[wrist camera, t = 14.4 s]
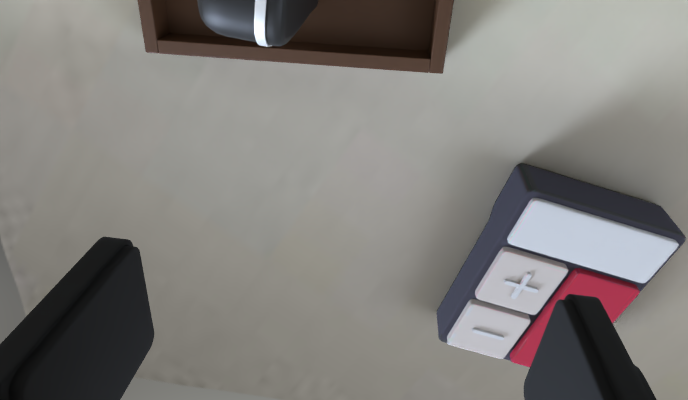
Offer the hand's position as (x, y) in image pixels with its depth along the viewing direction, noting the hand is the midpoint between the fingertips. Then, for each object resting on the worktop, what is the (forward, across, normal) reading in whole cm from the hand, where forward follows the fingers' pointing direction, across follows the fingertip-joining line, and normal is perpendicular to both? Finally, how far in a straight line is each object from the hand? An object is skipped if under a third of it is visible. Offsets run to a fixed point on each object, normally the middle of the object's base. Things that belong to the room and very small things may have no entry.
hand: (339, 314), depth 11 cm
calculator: (+23, -14, +14) cm, 30 cm away
